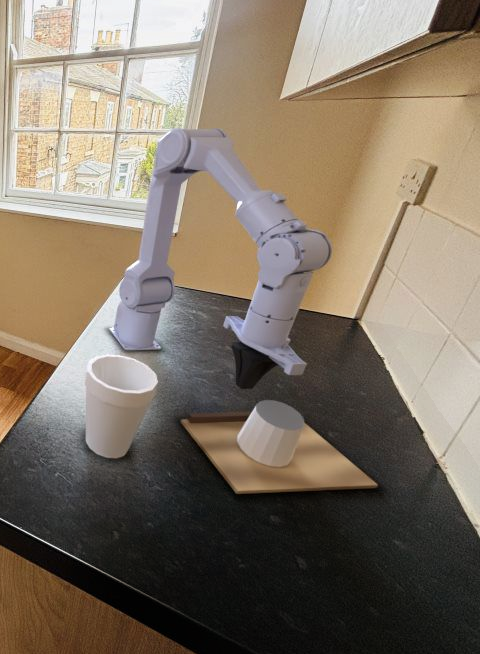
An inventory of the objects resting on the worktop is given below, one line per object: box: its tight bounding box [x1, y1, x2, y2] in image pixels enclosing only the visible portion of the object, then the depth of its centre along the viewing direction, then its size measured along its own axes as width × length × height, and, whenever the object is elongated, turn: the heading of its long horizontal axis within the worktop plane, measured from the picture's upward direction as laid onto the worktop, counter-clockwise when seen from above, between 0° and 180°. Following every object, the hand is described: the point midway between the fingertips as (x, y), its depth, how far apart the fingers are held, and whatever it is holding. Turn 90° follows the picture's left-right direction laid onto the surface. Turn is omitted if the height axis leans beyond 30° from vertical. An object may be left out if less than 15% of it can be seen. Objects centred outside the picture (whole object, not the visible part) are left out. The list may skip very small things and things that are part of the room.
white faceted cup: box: [237, 399, 305, 467], centre depth 58 cm, size 7×7×7 cm
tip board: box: [180, 411, 379, 495], centre depth 60 cm, size 14×20×2 cm
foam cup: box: [84, 353, 159, 459], centre depth 59 cm, size 10×9×13 cm
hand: (244, 386), depth 66 cm, fingers closed
